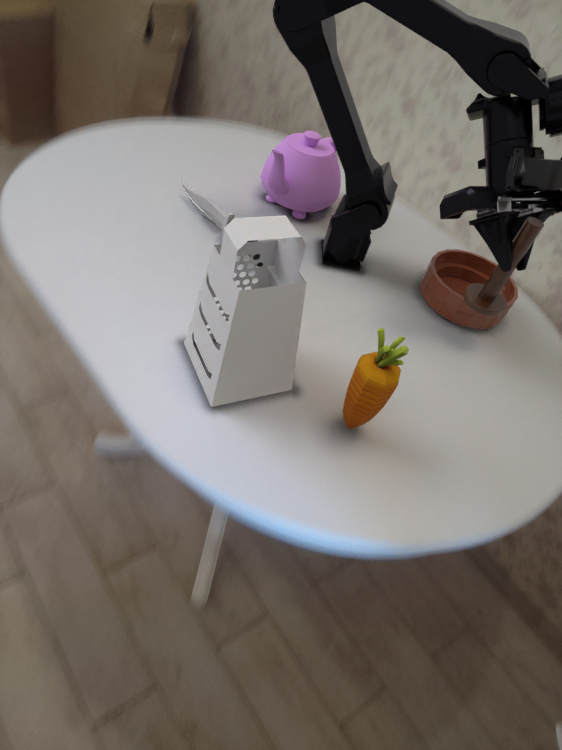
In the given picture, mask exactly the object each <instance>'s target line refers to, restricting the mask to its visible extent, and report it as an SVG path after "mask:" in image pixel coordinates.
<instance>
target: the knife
mask: <svg viewBox="0 0 562 750" xmlns="http://www.w3.org/2000/svg"><path fill="white" fill-rule="evenodd" d="M181 184H182V187H183V189H184V188H185V190H186V192H187V193H188V194H189V196H190V197H191V198H192V200H193V201H194V202H195V203H196V204H197V205H198V206H199V207H200V208H201V209H202V210H203V211H204V212H205V213H206V214H207V215H208V216H209V217H210V218H211V219H212V220H213V221H214V222H215V223H216V224H215V223H214V222H213V221H212V220H211V219H210V218H209V217H208V216H207V215H206V214H205V213H204V212H202V211H201V210H200V209H199V208H198V207H197V206H196V205H195V204H194V203H193V202H192V200H191V199H190V198H189V197H188V195H187V194H186V197H187V198H188V200H189V202H190V203H191V205H192V206H193V207H194V208H195V210H196V211H197V212H198V213H199V214H201V215H202V216H204V217H206V218H207V219H208V220H210V221H211V222H212V223H214V224H215V225H216V226H217V227H218V228H219V229H220V230H221V232H222V233H221V234H222V235H223V231H224V227H225V226H226V225H228V224H229V223H230V222H231V221H232V220H233V219H234V218H236V217H235V216H236V215H235V213H234V212H231V213H228V211H226V210H225V209H224V208H223V207H222V206H221V205H220V204H219V203H218V202H217V201H216V200H215V199H214V198H212V197H211V196H210V195H207V194H205V193H202V192H199V191H198V190H197V189H195V188H194V187H192V185H191V184H188V183H187V182H185V181H183V180H181ZM185 190H184V191H185ZM186 192H185V193H186ZM257 241H259V240H253V241H247V242H257ZM248 257H250V258H251V256H250V255H248ZM259 258H260V255H259V254H256V255H254V256H253V259H254V260H258V259H259ZM262 266H263V263H262V262H260V263H258V264H257V265H256V267H257V268H261V267H262Z"/></svg>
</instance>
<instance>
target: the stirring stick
mask: <svg viewBox="0 0 562 750" xmlns="http://www.w3.org/2000/svg"><path fill="white" fill-rule="evenodd" d="M544 223H545V222H544ZM544 223H543V222H542V221H540V220H539V219H537V218H534V217H528V218H527V219H526V221H525V222H524V224H523V225H522V227H521V229H520V230H519V232H518V233H517V235H516V236H515V238H514V240H513V241H512V268H511V271H507V272H503V271H502V269H501V268H500V266H499V264H498V263H497V266H496V268H495V270H494V271H493V273H492V274H491V276H490V277H489V279H488V281H487V282H486V284H480V283H473V284H470V285H468V286H467V288H466V289H465V291H464V293H463V297H464V300H465V302H466V303H467V304H468V305H469V306H470V307H471V308H472V309H473V310H475V311H477V312H478V313H480V314H483V315H486V316H493V317H494V316H499V315H501V314H502V313H503V312H504V310H505V309H506V307H507V301H506V299H505V298H504V296H503V295H502V294H501V293H500V291H501V290H502V288H503V287H504V285H505V284H506V282H507V281H508V279H509V278H510V277H512V275H513V273H514V271H515V270H517V268H516V267H517V266H518V264H519V263H520V261H521V260H522V258H523V257H524V255H525V254H526V252H527V251H528V249H529V248H530V246H531V245H532V243H533V242H534V243H535V241H536V239H537V237H539V234H540V233H541V231H542V230H543V229H544V227H545V224H544ZM534 240H535V241H534Z"/></svg>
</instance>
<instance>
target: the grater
mask: <svg viewBox="0 0 562 750" xmlns="http://www.w3.org/2000/svg"><path fill="white" fill-rule="evenodd" d="M278 239H286V243H285V246H284V247H283V246H282V244H281V243H280V241H279V240H278ZM253 240H258V241H257V242H247V241H253ZM306 248H307V243H306V242H305V241H304V238H303V237H302V236H301V235H300V233H299V232H298V230H297V229H296V228H295V226H294V225H293V223H292V222H291V220H290V219H289V218H288V217H287V215H268V216H251V217H248V216H247V217H235V218H234V219H233V220H232V221H231V222H230V223H229V224H228V225H226V226H225V227H224V231H223V234H222V238H221V243H219V244H213V246H212V248H211V249H212V250H211V253H210V255H209V259H208V262H207V266H206V268H205V269H206V270H205V273H204V276H203V279H202V283H201V284H200V285H201V286H200V290H199V292H198V295H197V299H196V302H195V306H194V308H193V312H192V316H191V319H190V321H189V325H188V329H187V332H186V335H185V338H184V341H183V344H184V347H185V349H186V351H187V354H188V356H189V358H190V361H191V363H192V366H193V368H194V371H195V372H196V375H197V378H198V379H199V382H200V384H201V387H202V390H203V392H204V395H205V396H206V398H207V401H208V403H209V406H210V407H211V408H214V407H218V406H219V407H220V406H223V405H228V404H233V403H238V402H242V401H247V400H251V399H256V398H260V397H265V396H270V395H274V394H280V393H284V392H288V391H292V390H293V384H294V377H295V370H296V363H297V356H298V355H297V354H298V347H299V340H300V334H301V326H302V318H303V311H304V303H305V296H306V289H307V281H306V280H305V278H304V277H303V275H302V273H301V272H300V270H301V266H302V262H303V260H304V259H303V258H304V255H305V252H306ZM256 254H259V255H260V258H259V259H258V260H254V259H253V256H254V255H256ZM249 255H250V256H251V257H250V256H249ZM246 256H249V257H250V258H249V259H248V260H245V259H244V258H245V257H246ZM237 257H240V259H239V260H238V261H237ZM260 262H262V263H263V266H261V267H258V266H257V264H258V263H260ZM250 264H253V266H252V267H251V268H248V265H250ZM240 265H243V268H242V269H238V267H239V266H240ZM252 272H255V273H254V274H253V275H249V274H250V273H252ZM242 273H245V275H244V276H240V274H242ZM234 274H236V276H234ZM254 279H257V280H258V281H257V282H255V283H253V282H252V281H253V280H254ZM246 280H248V281H249V282H248V283H246V284H244V281H246ZM236 281H239V284H237V283H236ZM247 287H250V288H249V289H246V288H247ZM240 288H241V290H240ZM214 298H216V299H217V301H216V300H215V299H214ZM217 304H218V305H220V306H218V305H217ZM221 311H223V313H221ZM224 317H225V318H224ZM207 326H208V327H209V328H208V327H207ZM210 332H211V333H210ZM213 339H214V340H215V342H216V343H217V344H220V346H219V349H218V347H216V345H215V343H214V341H213ZM194 342H195V345H196V347H197V349H198V351H197V349H196V347H195V345H194ZM198 352H199V354H200V356H201V358H202V360H203V363H204V365H205V367H206V369H207V371H208V373H211V377H209V376H208V374H207V372H206V370H205V367H204V365H203V363H202V361H201V359H200V356H199V354H198Z"/></svg>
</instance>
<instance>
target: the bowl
mask: <svg viewBox="0 0 562 750" xmlns="http://www.w3.org/2000/svg"><path fill="white" fill-rule="evenodd" d="M497 265H498V263H497V262H494V261H492V260H490V259H488V258H487V257H485V256H483V255H481V254H477V253H476V252H473V251H468V250H464V249H456V248H454V249H450V248H449V249H448V248H447V249H444V250H439V251H437V252H436V253H435V254H434V255H433V256H432V257H431V259H430V260H429V263H428V264H427V267H426V268H425V270H424V272H423V274H422V277H421V278H420V282H419V290H420V293H421V296H422V298H423V299H424V301H425V302H426V304H427V305H428V306H429V307H430V308H431V309H433V311H435V312H436V313H437V314H438V315H440V316H441V317H443V318H444V319H447V320H448V321H450V322H452V323H454V324H457V325H460V326H462V327H465V328H470V329H475V330H485V329H486V330H487V329H488V330H489V329H492V328H494V327H496V326H498V325H500V324H501V322H502V321H503V320H504V319H505V316H506V315H507V314H508V312H509V311H510V310H511V309H512V307H513V306H514V304H515V303H516V301H517V300H518V298H519V289H518V286H517V284H516V281H515V280H514V279H513V277H512V276H510V278H509V279H508V281H507V282H506V284H505V285H504V287H503V288H502V290H501V291H500V293H501V294H502V295H503V296H504V298H505V299H506V301H507V307H506V309H505V310H504V312H503V313H502V314H501V315H499V316H494V317H493V316H486V315H483V314H480V313H478V312H477V311H475V310H473V309H472V308H471V307H470V306H469V305H468V304H467V303H466V302H465V300H464V297H463V293H464V291H465V289H466V288H467V286H468V285H470V284H473V283H480V284H486V282H487V281H488V279H489V277H490V276H491V274H492V273H493V271H494V270H495V268H496V266H497Z"/></svg>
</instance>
